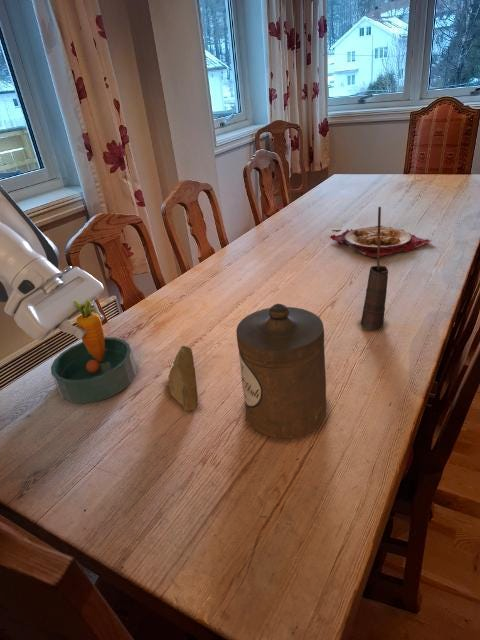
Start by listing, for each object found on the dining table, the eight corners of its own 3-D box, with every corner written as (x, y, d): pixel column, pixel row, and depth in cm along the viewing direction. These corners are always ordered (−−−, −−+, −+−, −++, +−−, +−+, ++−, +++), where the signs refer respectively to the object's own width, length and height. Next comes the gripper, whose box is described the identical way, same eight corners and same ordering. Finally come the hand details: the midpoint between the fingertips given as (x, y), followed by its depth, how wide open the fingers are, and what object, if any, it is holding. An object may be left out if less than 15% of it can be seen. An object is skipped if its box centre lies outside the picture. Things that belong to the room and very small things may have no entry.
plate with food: (376, 262, 135) (377, 251, 133) (328, 239, 155) (328, 230, 154) (432, 245, 143) (434, 235, 142) (379, 226, 164) (380, 217, 162)
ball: (90, 373, 97) (85, 375, 94) (87, 360, 97) (82, 361, 94) (103, 370, 97) (98, 371, 94) (100, 357, 97) (95, 358, 94)
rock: (209, 404, 80) (216, 366, 88) (174, 378, 77) (185, 342, 85) (172, 426, 85) (181, 389, 93) (138, 403, 82) (151, 367, 90)
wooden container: (249, 385, 87) (238, 288, 77) (323, 384, 85) (322, 284, 74) (242, 439, 75) (227, 331, 64) (328, 439, 72) (328, 328, 62)
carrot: (85, 361, 93) (65, 300, 86) (106, 352, 96) (88, 291, 89) (94, 370, 90) (74, 307, 82) (116, 360, 92) (98, 298, 85)
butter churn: (398, 338, 97) (409, 216, 83) (354, 337, 99) (358, 218, 85) (393, 317, 104) (403, 203, 91) (353, 317, 107) (356, 205, 93)
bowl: (61, 415, 85) (52, 392, 82) (58, 372, 99) (50, 351, 96) (143, 388, 90) (137, 365, 87) (129, 351, 104) (123, 330, 101)
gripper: (67, 272, 97) (114, 313, 99) (-3, 315, 80) (54, 363, 82) (78, 254, 93) (126, 297, 95) (7, 295, 77) (67, 346, 78)
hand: (92, 328), depth 88 cm, fingers closed on carrot, 5 cm apart
